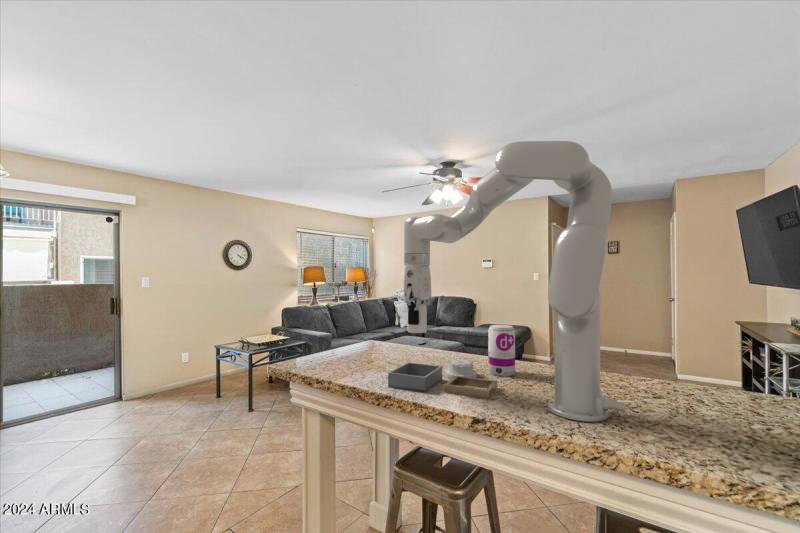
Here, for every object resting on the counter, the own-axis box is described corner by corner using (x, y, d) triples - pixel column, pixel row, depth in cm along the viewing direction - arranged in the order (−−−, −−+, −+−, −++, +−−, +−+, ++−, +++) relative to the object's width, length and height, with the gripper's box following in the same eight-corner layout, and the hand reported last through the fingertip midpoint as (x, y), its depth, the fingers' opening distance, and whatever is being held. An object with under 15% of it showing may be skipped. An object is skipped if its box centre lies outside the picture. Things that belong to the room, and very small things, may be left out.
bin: (442, 379, 108) (442, 366, 109) (425, 392, 97) (425, 377, 97) (408, 375, 114) (408, 362, 114) (388, 386, 102) (388, 372, 102)
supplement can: (518, 376, 112) (518, 328, 112) (491, 376, 112) (491, 327, 112) (510, 369, 120) (510, 324, 120) (485, 369, 120) (485, 324, 120)
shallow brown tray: (497, 388, 101) (497, 380, 101) (489, 399, 92) (489, 391, 92) (455, 382, 106) (455, 375, 106) (444, 392, 97) (444, 384, 97)
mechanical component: (438, 376, 113) (467, 382, 106) (438, 362, 113) (467, 367, 106) (455, 370, 120) (482, 375, 114) (455, 356, 121) (482, 361, 114)
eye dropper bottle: (412, 330, 109) (412, 290, 109) (429, 332, 106) (429, 290, 106) (404, 332, 105) (405, 290, 105) (422, 334, 102) (422, 291, 102)
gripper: (417, 259, 96) (416, 328, 96) (439, 261, 111) (439, 320, 111) (392, 259, 100) (391, 326, 100) (417, 261, 115) (416, 319, 115)
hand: (416, 322), depth 105 cm, fingers closed on eye dropper bottle, 4 cm apart
